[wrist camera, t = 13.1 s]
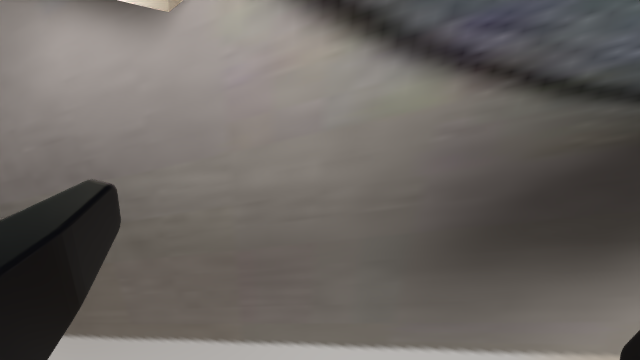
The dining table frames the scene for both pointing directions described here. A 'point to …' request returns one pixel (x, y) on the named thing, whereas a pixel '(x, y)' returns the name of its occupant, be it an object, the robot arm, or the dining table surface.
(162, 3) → the plinth
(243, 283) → the dining table surface
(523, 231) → the dining table surface
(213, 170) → the dining table surface
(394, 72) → the dining table surface
